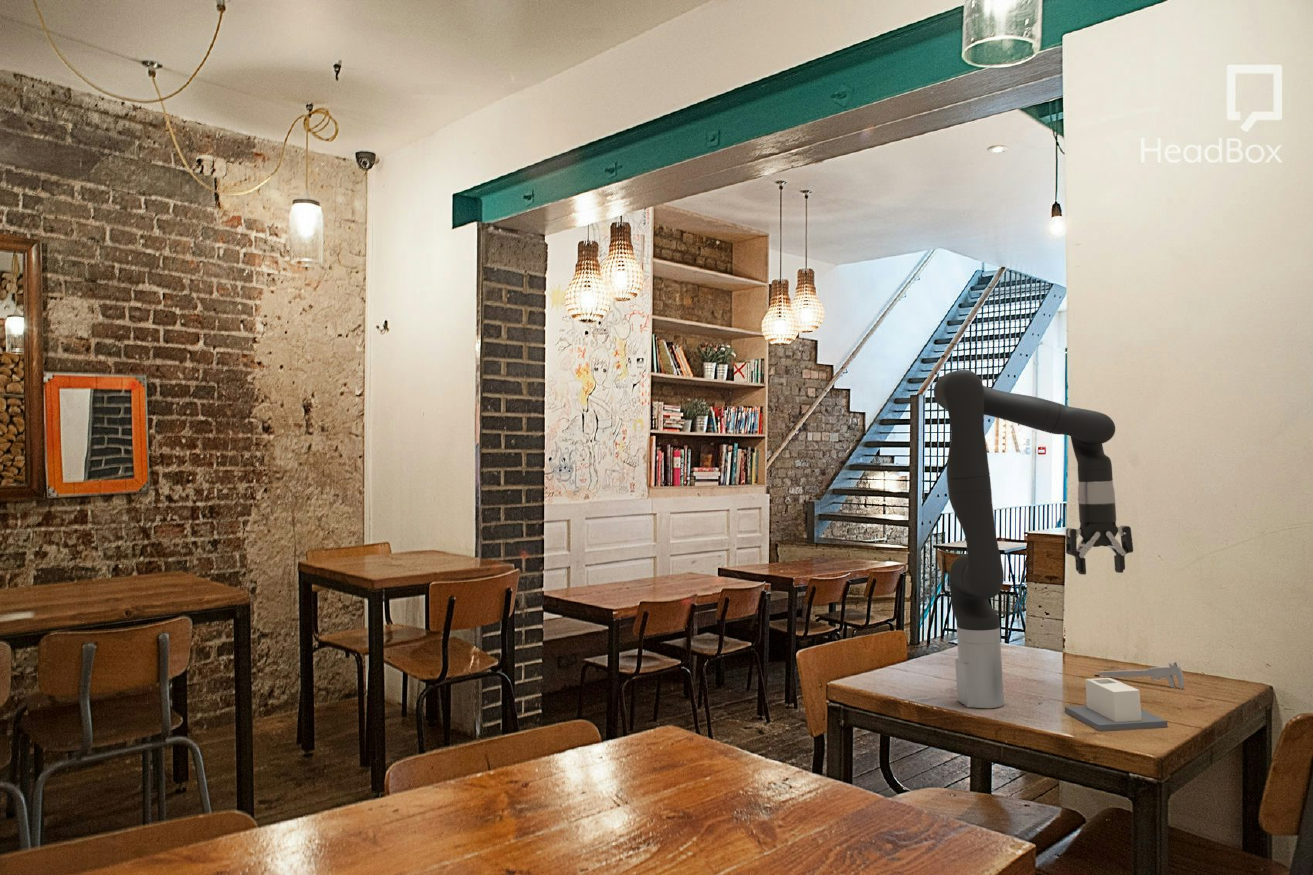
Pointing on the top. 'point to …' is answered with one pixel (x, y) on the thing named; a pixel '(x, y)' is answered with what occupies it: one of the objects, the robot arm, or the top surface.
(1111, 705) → the socket block
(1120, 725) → the pin plate
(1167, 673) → the caliper
